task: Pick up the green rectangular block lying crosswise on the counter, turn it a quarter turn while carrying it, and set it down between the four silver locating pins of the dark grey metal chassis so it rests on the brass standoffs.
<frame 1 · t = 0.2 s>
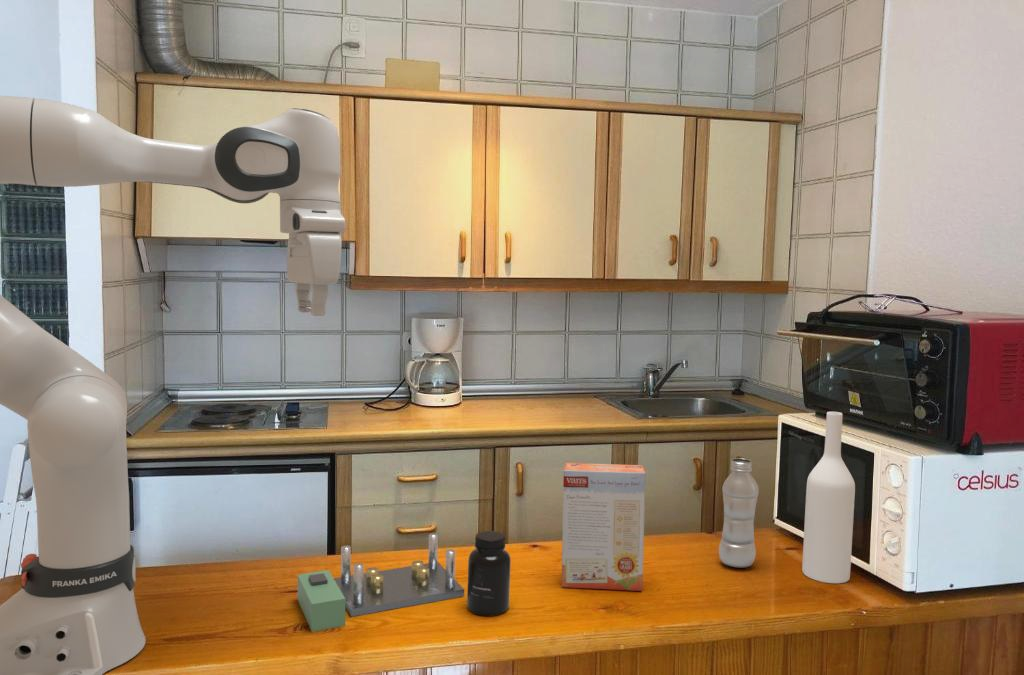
hand: (311, 314, 114), 47 cm above the counter, tool pointing down, fingers open, 8 cm apart
bottle: (825, 576, 137), on the counter
cracker box: (601, 584, 132), on the counter
green rectangular block: (320, 613, 119), on the counter
chassis: (397, 590, 127), on the counter
supplement bottle: (488, 608, 121), on the counter
plastic bottle: (736, 566, 141), on the counter
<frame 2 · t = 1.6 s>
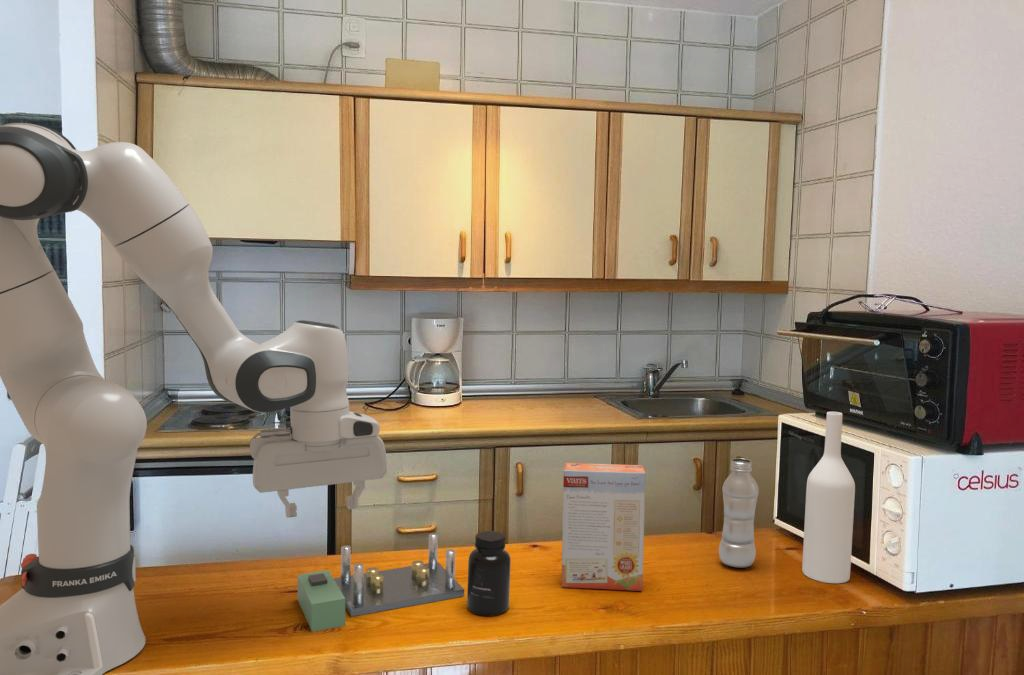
hand: (322, 512, 118), 16 cm above the counter, tool pointing down, fingers open, 8 cm apart
nothing on the counter moved.
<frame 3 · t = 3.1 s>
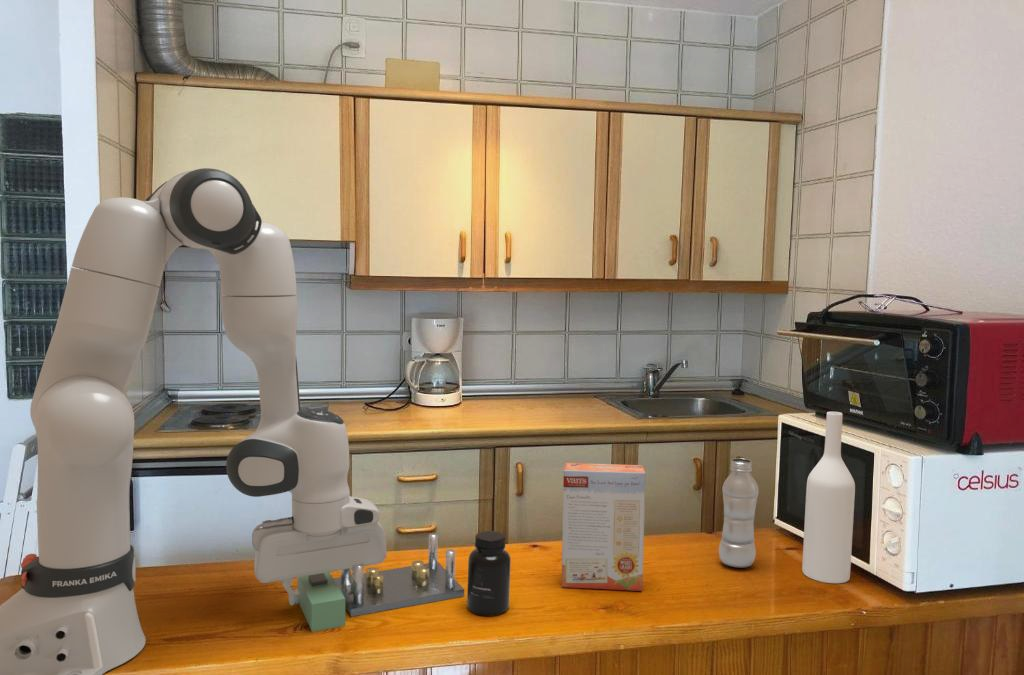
hand: (322, 598, 119), 2 cm above the counter, tool pointing down, fingers open, 7 cm apart
nothing on the counter moved.
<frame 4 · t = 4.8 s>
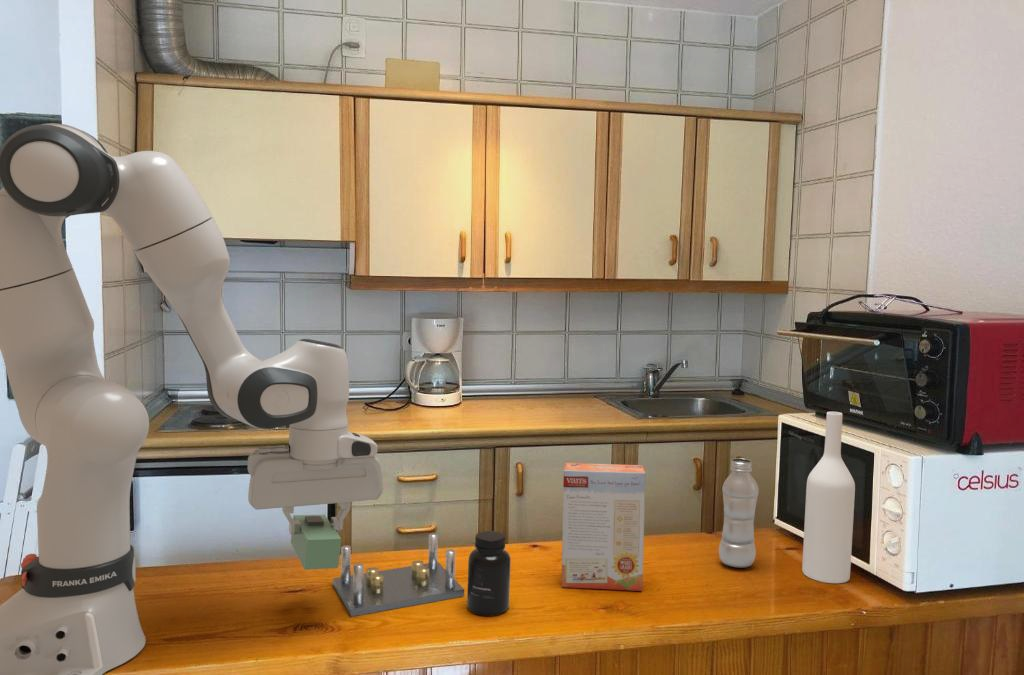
hand: (316, 531, 117), 13 cm above the counter, tool pointing down, fingers closed on green rectangular block, 5 cm apart
green rectangular block: (313, 554, 117), point 9 cm above the counter, tilted 6°, touching gripper
everything else where it was.
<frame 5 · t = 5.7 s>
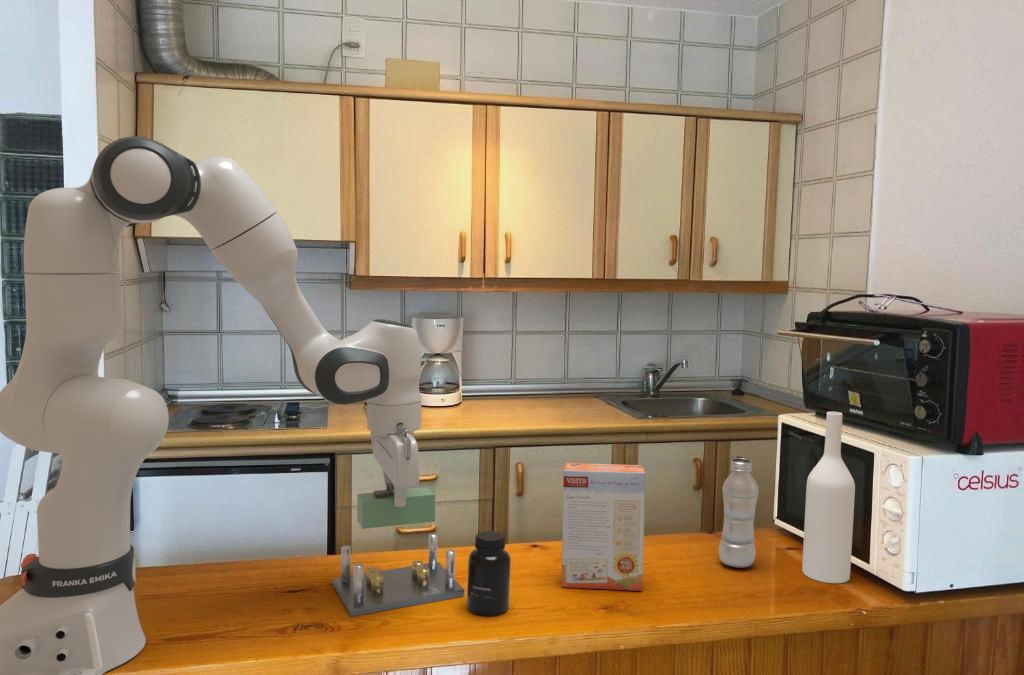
hand: (395, 499, 125), 16 cm above the counter, tool pointing down, fingers closed on green rectangular block, 5 cm apart
green rectangular block: (396, 521, 125), point 12 cm above the counter, touching gripper
everything else where it was.
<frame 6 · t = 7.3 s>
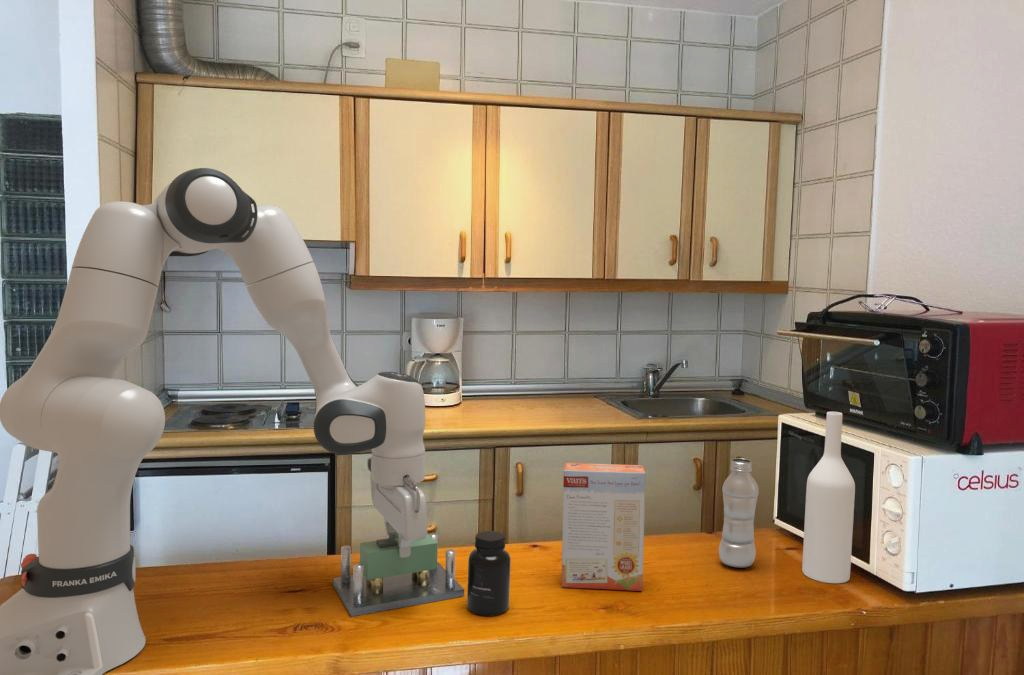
hand: (398, 549, 127), 7 cm above the counter, tool pointing down, fingers closed on green rectangular block, 5 cm apart
green rectangular block: (398, 568, 127), point 4 cm above the counter, touching chassis, gripper
everything else where it was.
when the fingers open (7 cm above the counter, at t = 7.5 s): green rectangular block stays where it is, resting on chassis.
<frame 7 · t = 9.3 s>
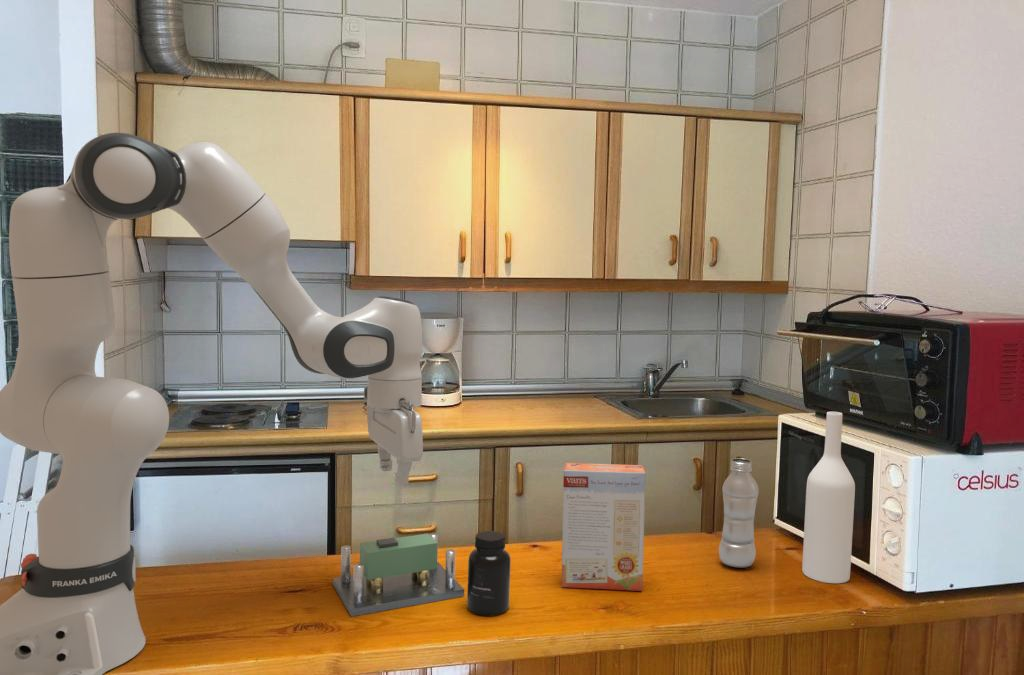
hand: (393, 476, 126), 20 cm above the counter, tool pointing down, fingers open, 8 cm apart
green rectangular block: (398, 568, 127), point 4 cm above the counter, touching chassis
everything else where it was.
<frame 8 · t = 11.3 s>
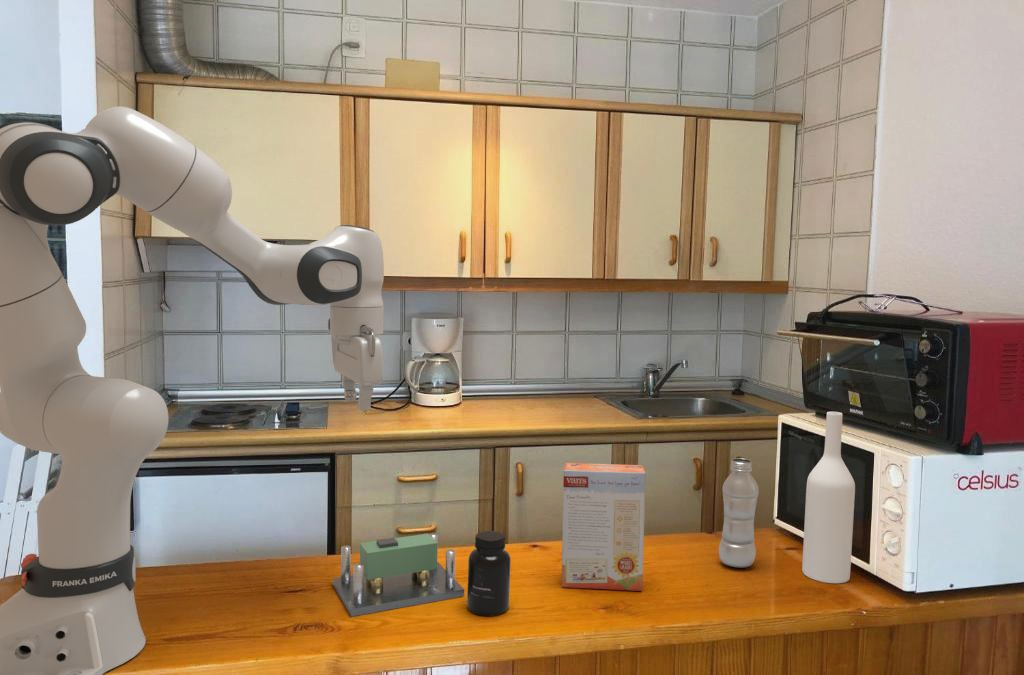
hand: (357, 404, 128), 31 cm above the counter, tool pointing down, fingers open, 8 cm apart
nothing on the counter moved.
at the end: green rectangular block 0.2 cm off-centre on the chassis, point 3.7 cm above the chassis's base; green rectangular block tilted 0°; the gripper is holding nothing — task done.
